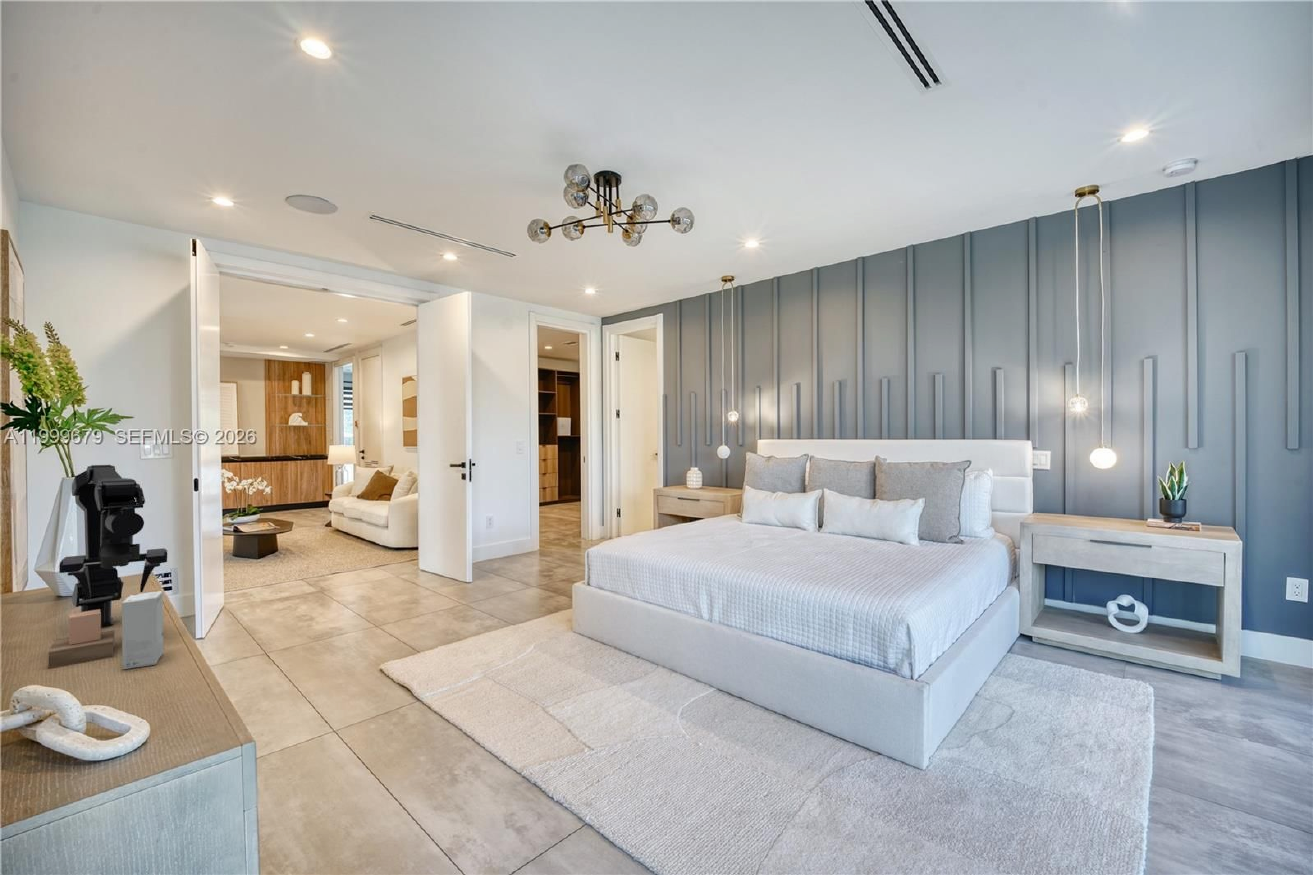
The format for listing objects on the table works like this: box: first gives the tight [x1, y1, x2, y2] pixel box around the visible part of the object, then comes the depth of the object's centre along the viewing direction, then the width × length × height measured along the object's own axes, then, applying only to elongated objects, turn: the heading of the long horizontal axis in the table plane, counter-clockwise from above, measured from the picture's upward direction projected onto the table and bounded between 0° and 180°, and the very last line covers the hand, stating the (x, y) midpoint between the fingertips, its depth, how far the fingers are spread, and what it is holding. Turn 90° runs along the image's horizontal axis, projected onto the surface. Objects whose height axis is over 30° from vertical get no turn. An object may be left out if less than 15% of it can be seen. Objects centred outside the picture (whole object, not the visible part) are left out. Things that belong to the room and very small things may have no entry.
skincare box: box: [121, 590, 164, 670], centre depth 125 cm, size 8×6×15 cm
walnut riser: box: [47, 629, 116, 669], centre depth 128 cm, size 10×10×4 cm
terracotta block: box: [68, 609, 102, 645], centre depth 129 cm, size 5×5×6 cm
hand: (115, 595), depth 136 cm, fingers open, 9 cm apart
